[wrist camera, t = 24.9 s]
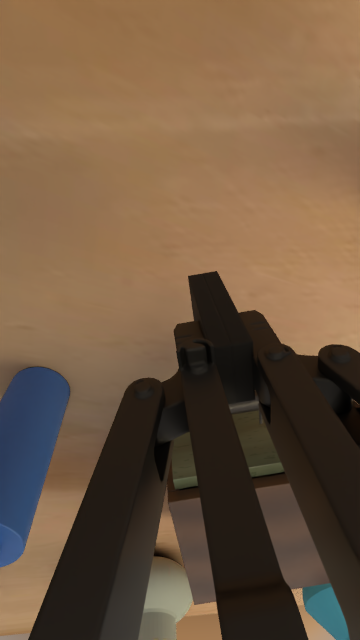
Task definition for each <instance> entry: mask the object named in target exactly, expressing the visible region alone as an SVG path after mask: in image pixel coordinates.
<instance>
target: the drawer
mask: <svg viewBox="0 0 360 640" xmlns="http://www.w3.org/2000/svg"><path fill="white" fill-rule="evenodd" d="M229 408H230V411H231V414H232V417H233V420H234V424H235V427H236V430H237V433H238V436H239V439H240V443H241V446H242V449H243V452H244V455H245V458H246V462H247V465H248V468H249V471H250V474H251V477H252V478H259V477H265V476H271V475H277V474H284V473H285V471H284V469H283V466H282V464H281V461H280V459H279V456H278V454H277V452H276V449H275V447H274V444H273V442H272V439H271V437H270V434H269V432H268V430H267V427H266V425H265V422H264V420H263V424H260V422H259V399H258V396H257V393H256V391H255V400H250V401H245V402H239V403H233V404H229ZM171 458H172V472H173V482H174V486H175V489H182V488H187V489H190V488H196V487H198V482H197V476H196V469H195V463H194V457H193V451H192V444H191V438H190V432H188V433H185V434H183V435H181V436H179V437H177V438H175V439H174V447H173V452H172V457H171Z"/></svg>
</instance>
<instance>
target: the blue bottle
mask: <svg viewBox="0 0 360 640" xmlns="http://www.w3.org/2000/svg"><path fill="white" fill-rule="evenodd" d="M69 396H70V388H69V385H68V383H67V381H66V380H65V379H64V377H63V376H61V375H60V374H59V373H57V372H55V371H53V370H51V369H48V368H43V367H31V368H27V369H24V370H22V371H20V372H18V373H17V374H16V375H15V376H14V377H13V379H12V381H11V383H10V385H9V386H8V388H7V390H6V392H5V394H4V396H3V398H2V399H1V401H0V567H3V566H6V565H9V564H11V563H13V562H14V561H16V560H17V559H18V558H19V557H20V556H21V555H22V554H23V552H24V549H25V545H26V542H27V539H28V535H29V532H30V528H31V525H32V522H33V518H34V515H35V511H36V508H37V505H38V501H39V498H40V494H41V491H42V488H43V484H44V481H45V478H46V474H47V471H48V467H49V464H50V461H51V457H52V454H53V450H54V447H55V444H56V440H57V437H58V433H59V430H60V427H61V423H62V420H63V417H64V413H65V410H66V406H67V403H68V400H69Z"/></svg>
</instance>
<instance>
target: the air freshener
mask: <svg viewBox="0 0 360 640" xmlns="http://www.w3.org/2000/svg"><path fill="white" fill-rule="evenodd" d="M192 601H193V597H192V593H191V589H190V586H189V582H188V578H187V574H186V570H185V568H184V567H182V566H181V565H180V564H179V563H177V562H175V561H173V560H171V559H168V558H164V557H159V556H153V561H152V566H151V572H150V577H149V583H148V588H147V594H146V599H145V604H144V610H143V615H142V621H141V626H140V632H139V637H138V640H177V639H176V623H177V622H178V621H179V620H180V619H181V618H182V617H183V616H184V615H185V614H186V613H187V611H188V610H189V608H190V606H191V603H192Z"/></svg>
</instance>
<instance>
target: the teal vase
mask: <svg viewBox="0 0 360 640" xmlns="http://www.w3.org/2000/svg"><path fill="white" fill-rule="evenodd" d="M302 592H303V601H304V605H305V609H306V611H307V612H308V613H309V614H310V615H311V616H312V617H313V618H314V619H315V620H316V621H317V622H318V623H319V624H320V625H321V626H323V628H325V629H326V630H327V631H328V632H329V633H330V634H331V635H332V636H333V637H334V638H335V639H336V640H350V638H349V633H348V628H347V625H346V621H345V618H344V616H343V613H342V610H341V608H340V605H339V603H338V601H337V598H336V596H335V593H334V591H333V588H332V586H331V583H328V584H322V585H316V586H309V587H303V591H302Z"/></svg>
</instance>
